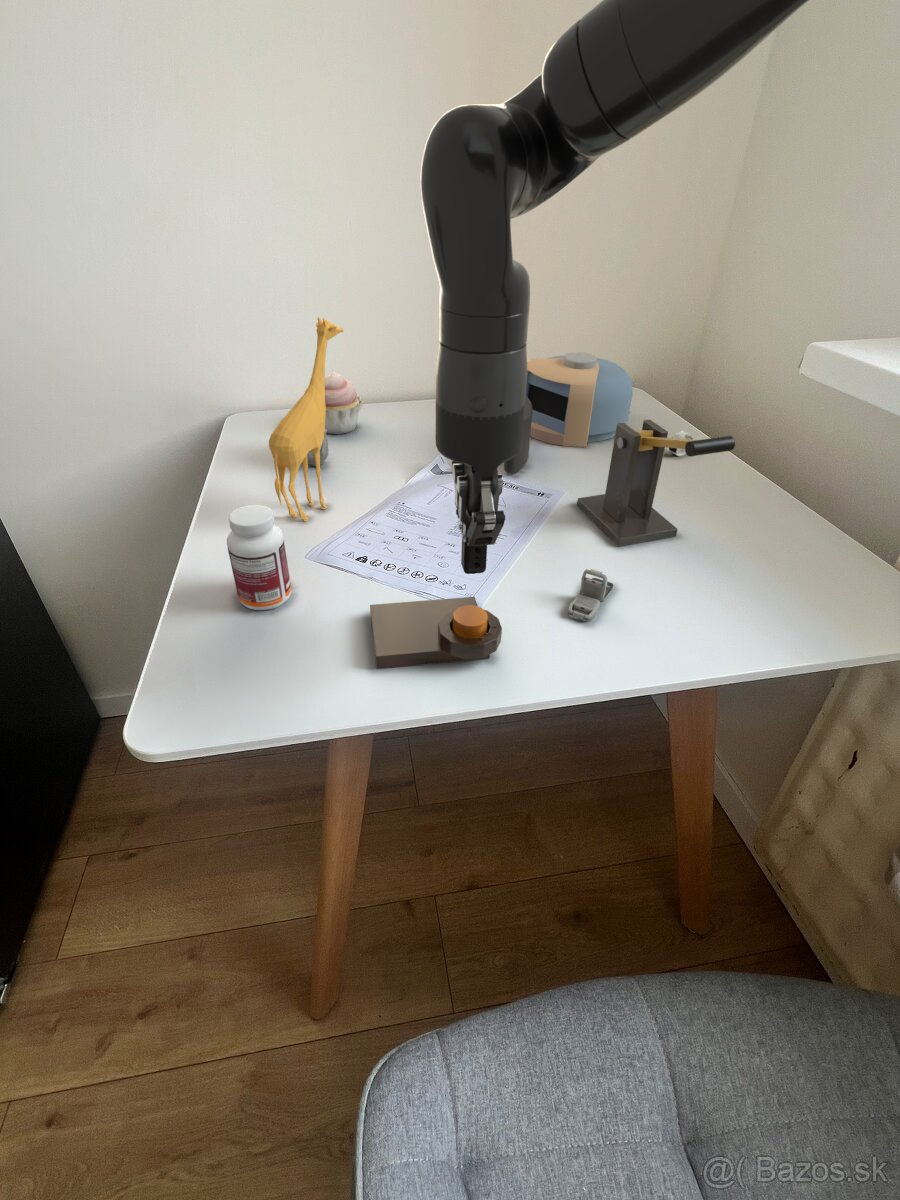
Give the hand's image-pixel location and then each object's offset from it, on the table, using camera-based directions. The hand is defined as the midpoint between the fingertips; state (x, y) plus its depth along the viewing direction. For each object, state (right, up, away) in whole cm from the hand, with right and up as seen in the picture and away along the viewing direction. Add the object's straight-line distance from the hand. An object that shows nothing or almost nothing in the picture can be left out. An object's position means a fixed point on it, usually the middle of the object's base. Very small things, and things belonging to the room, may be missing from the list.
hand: (473, 569), depth 68 cm
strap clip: (+14, -3, +14) cm, 21 cm away
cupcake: (-22, +27, +55) cm, 65 cm away
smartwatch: (+36, +21, +48) cm, 64 cm away
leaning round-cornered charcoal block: (+7, +21, +47) cm, 51 cm away
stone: (-24, +19, +43) cm, 53 cm away
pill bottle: (-24, -3, +14) cm, 28 cm away
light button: (0, -6, +5) cm, 8 cm away
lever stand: (+22, +8, +30) cm, 38 cm away
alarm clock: (+20, +29, +58) cm, 68 cm away
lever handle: (+25, +15, +17) cm, 34 cm away
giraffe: (-21, +10, +32) cm, 40 cm away
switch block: (-4, -8, +8) cm, 11 cm away
